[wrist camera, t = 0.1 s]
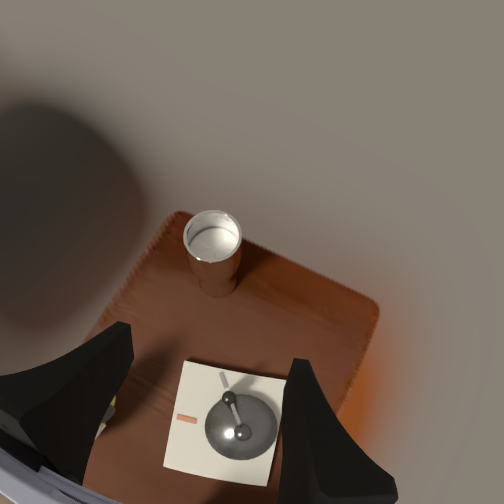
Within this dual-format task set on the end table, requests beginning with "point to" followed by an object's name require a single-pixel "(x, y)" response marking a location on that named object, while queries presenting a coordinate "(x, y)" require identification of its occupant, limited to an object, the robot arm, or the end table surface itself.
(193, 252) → the beer glass
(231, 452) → the cam dial
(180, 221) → the end table surface
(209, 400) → the base plate
